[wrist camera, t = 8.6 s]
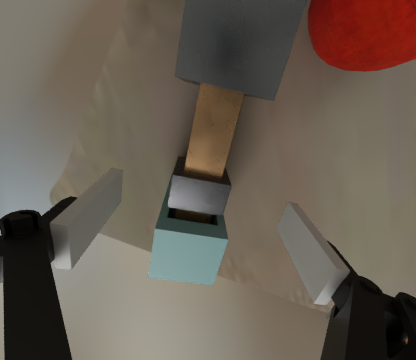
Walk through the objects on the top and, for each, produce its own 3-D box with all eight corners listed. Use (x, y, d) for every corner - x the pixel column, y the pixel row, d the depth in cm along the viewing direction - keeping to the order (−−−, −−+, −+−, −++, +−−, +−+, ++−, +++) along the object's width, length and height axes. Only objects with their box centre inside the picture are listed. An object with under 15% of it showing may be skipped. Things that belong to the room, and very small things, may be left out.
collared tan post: (196, 54, 17) (195, 42, 12) (250, 68, 17) (268, 62, 13) (168, 214, 23) (161, 243, 19) (209, 220, 24) (212, 250, 19)
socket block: (171, 174, 26) (155, 228, 16) (217, 183, 27) (228, 239, 17) (165, 210, 28) (148, 277, 18) (208, 217, 29) (213, 285, 19)
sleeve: (198, 0, 19) (197, -88, 9) (262, 19, 20) (321, -44, 10) (185, 81, 22) (174, 75, 12) (242, 95, 23) (274, 100, 13)
